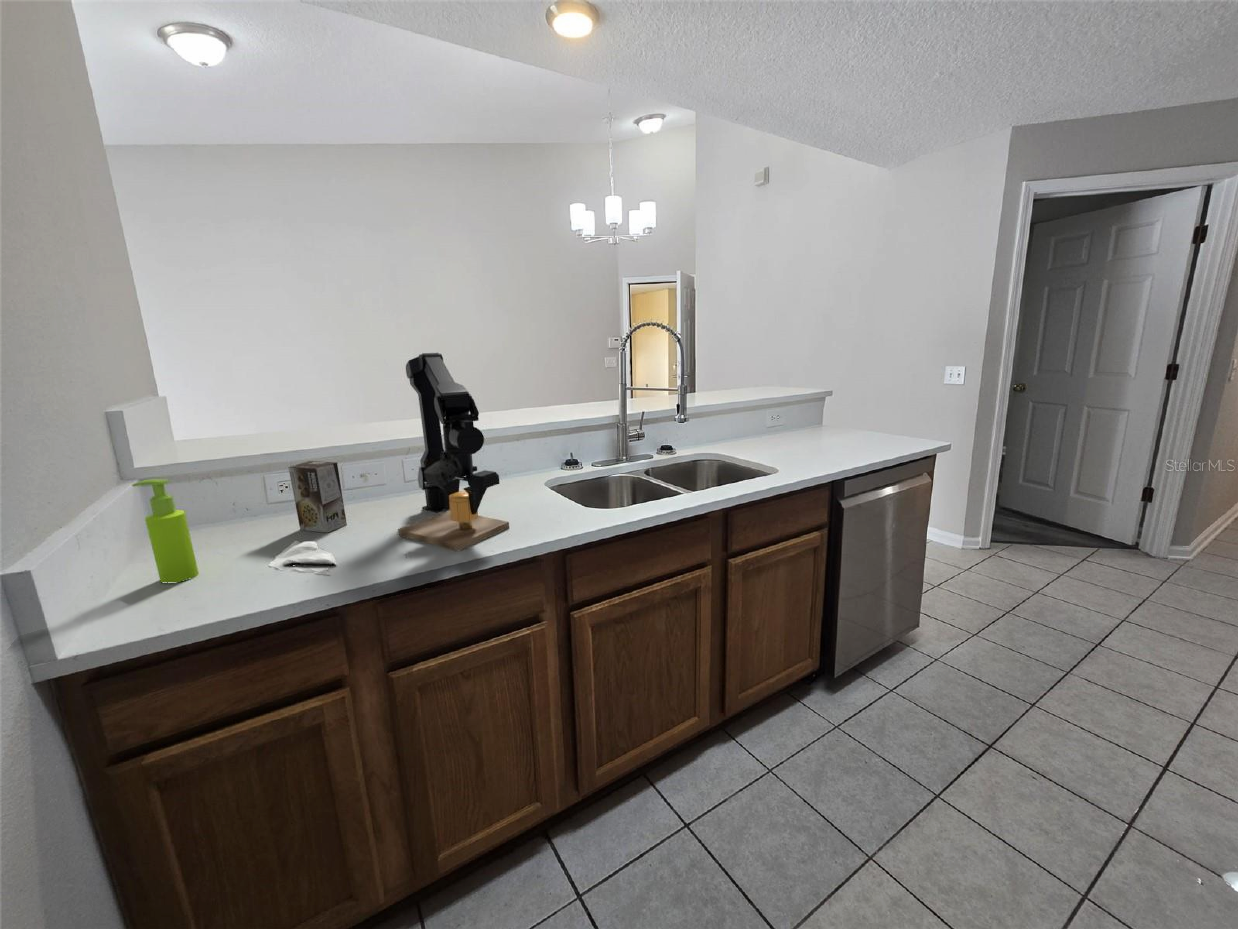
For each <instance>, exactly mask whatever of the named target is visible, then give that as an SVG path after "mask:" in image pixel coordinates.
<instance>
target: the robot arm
mask: <svg viewBox="0 0 1238 929" xmlns="http://www.w3.org/2000/svg"><path fill="white" fill-rule="evenodd" d="M405 373H406V377H407V379H409V385H410V386H411V387H412V389H413V390H414V391H415V393H416V394H417V396H418V405H419V411H420V418H421V428H422V434H423V442H424V452H423V454H422V455H421V458H420V459H419V461H420V463H419V464H420V467H419V468H418V476H417V483H418V487H419V488H420V489H421V490H422V491H424V494H425V503H426V505H424V506H422V507H421V509H422V510H425V511H428V512H429V511H430V512H435V513H439V512H442V511H445V510H448V509H450V506H449V495H450V494H452V493H455V492H460V483H461V482H460V481H465V482H467V485H468V486H467V487H463V488H462V489H463V491H466V492H467V493H468V495H469V501H470V508H471V512H472V514H473V515H474V514H476V513H477V511H478V512H479V508H480V505H481V503H482V500H483V498H484V495H485V494H486V491H487V489H488V488H491V487H494V486H497V485H500V475H499V473H498V472H496V471H492V470H487V469H486V470H481V471H478V466H475V465H474V464H473V455H474V454H477V452H479V451H480V450H481V449H482V448H483V446H484V443H485V437H484V435H483V432H482V430H480V429H479V428H478V427H475V426H474V422H477V421H478V422H479V421H480V420H479V415H480V412H479V410H478V407H477V405H476V402H475V398H473V396H472V395H471V393H470V392H469V391H468V389H467V388H466V386H464V385H463V384H461V383H457V382H456V381H454V380H455V379H454V378H453V377H452V375H451V373H450V372H449V369H448V368H447V366H446V365H445V363H444V358H443V354H442V353H439V352H427V353H426V352H425V353H424V352H423V353H421V354H419V355H418V356H417V357H413V358H411V359H409V360H408V361H407V362H406V364H405ZM441 424H442V428H441ZM442 434H443V435H442ZM477 471H478V472H477ZM474 472H475V473H474Z"/></svg>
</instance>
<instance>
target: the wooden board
mask: <svg viewBox="0 0 1238 929" xmlns="http://www.w3.org/2000/svg"><path fill="white" fill-rule="evenodd" d="M472 525H473V528H472V529H470V530H466V531H462V530H460V529H459V522H456V521H451V515H450V509H449V510H447V511H444V512H441V513H439V514H436V515H432V516H431V517H427V518H425V519H422V520H420V521H417V522H415V523H412V524H409V525H406V526H403V527H399V528H398V529H397V534H398V536H399V537H403V538H407V537H408V538H407V539H411V540H415V541H418V542H422V543H427V544H430V545H434V544H435V545H434V546H438V545H439V546H438V547H441V548H442V547H443V548H446V549H449V548H450V550H454V551H457V552H459V551H461V550H464V549H466V548H469V547H470V545H471V546H472V544H473V545H475V544H478V543H479V542H481V541H483V540H486V539H487V537H488V538H489V537H490V538H491V537H492V536H494V534H495V535H497V534H499V533H501V532H504V531H505V530H507V528H508V529H510V521H506V520H501V519H496V518H493V517H492V518H491V517H488V516H482V515H478V518H476V519H474V520H472ZM500 531H501V532H500Z"/></svg>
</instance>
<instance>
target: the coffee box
mask: <svg viewBox="0 0 1238 929" xmlns="http://www.w3.org/2000/svg"><path fill="white" fill-rule="evenodd" d="M338 466H339V465H338V462H336V461H335V462H334V461H314V460H309V461H305V462H301V463H298V464H296V465H292V466H288V471H289V478H290V483H291V488H292V493H293V498H294V502H295V503H294V504H295V508H296V514H297V520H298V524H299V529H300V531H309V532H319V533H329V532H332V531H334V530H337V529H340V528H342V527H345V526H347V524H348V523H347V519H346V511H345V504H344V498H343V492H342V485H341V484H342V483H341V479H340V478H341V477H340V471H339V467H338Z"/></svg>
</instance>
